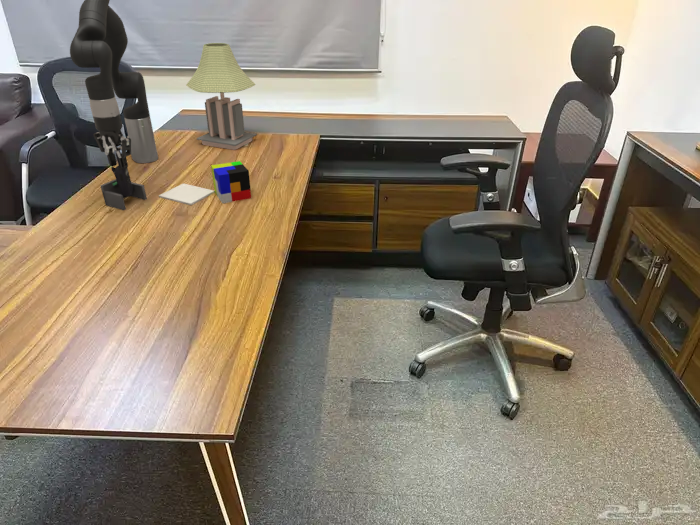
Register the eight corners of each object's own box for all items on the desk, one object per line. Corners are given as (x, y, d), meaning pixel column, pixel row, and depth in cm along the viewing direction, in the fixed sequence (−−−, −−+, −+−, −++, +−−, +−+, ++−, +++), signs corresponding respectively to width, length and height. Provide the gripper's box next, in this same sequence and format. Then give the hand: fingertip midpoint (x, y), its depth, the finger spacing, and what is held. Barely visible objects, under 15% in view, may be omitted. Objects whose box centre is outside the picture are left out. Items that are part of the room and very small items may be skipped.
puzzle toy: (222, 203, 163) (218, 175, 158) (214, 192, 171) (211, 165, 165) (251, 198, 167) (248, 170, 162) (242, 187, 175) (239, 161, 169)
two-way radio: (131, 197, 160) (120, 153, 151) (116, 198, 159) (105, 154, 151) (134, 190, 164) (124, 147, 156) (120, 191, 163) (109, 148, 155)
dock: (105, 205, 160) (100, 185, 157) (129, 194, 168) (124, 175, 164) (123, 210, 157) (118, 190, 154) (146, 198, 165) (142, 179, 161)
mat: (159, 197, 166) (158, 195, 166) (183, 184, 176) (183, 183, 175) (191, 205, 161) (190, 203, 161) (214, 192, 171) (214, 190, 170)
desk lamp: (183, 147, 210) (166, 46, 189) (221, 130, 232) (210, 38, 211) (234, 156, 202) (222, 52, 181) (269, 137, 224) (262, 42, 203)
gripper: (78, 112, 147) (93, 166, 156) (113, 119, 142) (126, 175, 151) (99, 106, 152) (112, 159, 162) (133, 113, 147) (144, 167, 157)
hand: (119, 166), depth 156 cm, fingers closed on two-way radio, 4 cm apart
